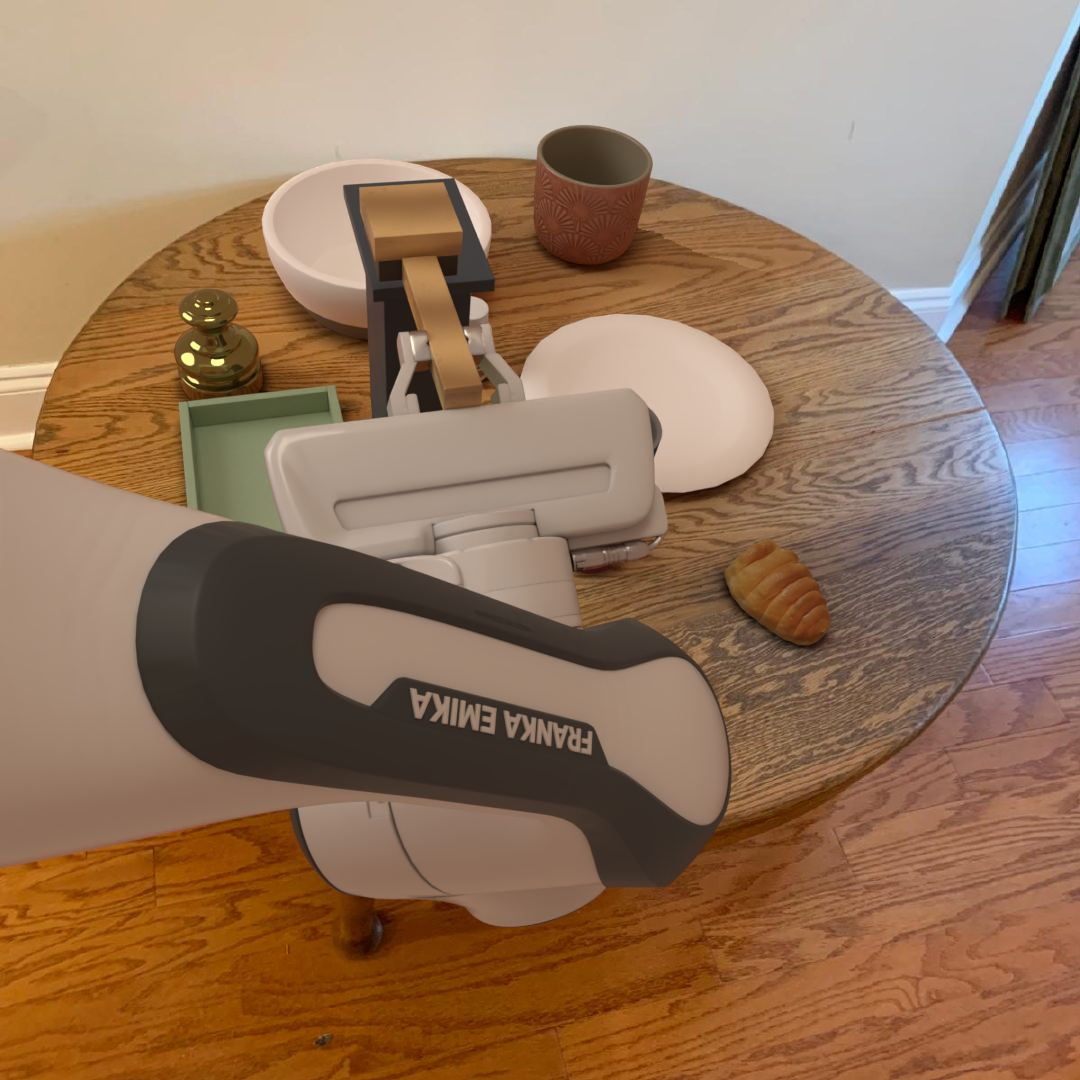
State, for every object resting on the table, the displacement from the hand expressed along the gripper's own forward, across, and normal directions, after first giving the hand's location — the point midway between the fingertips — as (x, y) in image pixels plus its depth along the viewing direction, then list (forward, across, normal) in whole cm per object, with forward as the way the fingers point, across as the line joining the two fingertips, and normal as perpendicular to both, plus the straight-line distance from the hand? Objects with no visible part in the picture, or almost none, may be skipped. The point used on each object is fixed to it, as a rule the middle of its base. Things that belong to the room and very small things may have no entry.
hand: (442, 331), depth 52 cm
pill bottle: (+11, -10, +42) cm, 45 cm away
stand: (-1, -2, +35) cm, 35 cm away
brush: (+2, 0, +3) cm, 3 cm away
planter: (+27, -28, +52) cm, 65 cm away
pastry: (-17, -29, +26) cm, 43 cm away
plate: (+4, -26, +38) cm, 46 cm away
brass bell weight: (+12, +13, +43) cm, 47 cm away
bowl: (+23, -4, +49) cm, 55 cm away
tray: (-1, +10, +35) cm, 37 cm away
